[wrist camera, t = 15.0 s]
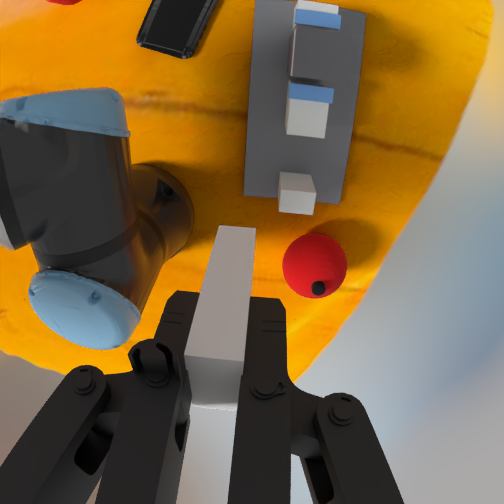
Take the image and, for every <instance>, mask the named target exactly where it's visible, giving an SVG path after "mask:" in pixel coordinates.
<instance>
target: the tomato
mask: <svg viewBox="0 0 504 504" xmlns="http://www.w3.org/2000/svg"><path fill="white" fill-rule="evenodd" d="M47 1H48V2H52V3H57V4H62V5H74V4H76V3H78V2H80V1H82V0H47Z"/></svg>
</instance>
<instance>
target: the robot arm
mask: <svg viewBox="0 0 504 504" xmlns="http://www.w3.org/2000/svg"><path fill="white" fill-rule="evenodd" d="M129 137H130V131H129V130H128V128H127V122H126V115H125V107H124V101H123V98H122V96H121V95H120V94H119V93H118V92H117V91H116V90H114V89H112V88H108V87H99V88H85V89H74V90H65V91H56V92H48V93H41V94H35V95H29V96H23V97H17V98H12V99H7V100H3V101H1V103H0V246H2V247H4V248H6V249H8V250H10V251H14V250H16V249H19V248H21V247H23V246H25V245H28V244H31V246H32V249H33V252H34V255H35V258H36V261H37V263H38V266H39V272H37V273H36V274H35V275H34V276H33V277H32V279H31V284H30V287H29V290H28V296H29V300H30V303H31V306H32V307H33V309H34V311H35V312H36V314H37V315H38V317H39V318H40V319H41V320H42V321H43V322H44V323H45V324H46V325H47V326H48V327H49V328H50V329H52V330H53V331H54V332H56V333H57V334H59V335H60V336H62V337H64V338H65V339H67V340H69V341H71V342H73V343H76V344H78V345H81V346H84V347H87V348H92V349H99V350H108V349H114V348H117V347H119V346H121V345H122V344H124V343H126V342H127V341H128V340H129V338H130V337H131V335H132V333H133V331H134V330H135V328H136V326H137V325H138V324H139V322H140V320H141V314H142V312H143V309H144V307H145V304H146V302H147V300H148V297H149V295H150V293H151V290H152V288H153V286H154V283H155V281H156V279H157V277H158V274H159V272H160V270H161V267H162V265H163V264H164V263H165V262H166V261H167V260H168V259H170V258H172V257H173V256H175V255H176V254H177V253H178V252H180V251H181V249H182V248H183V247H184V246H185V244H186V242H187V240H188V238H189V236H190V234H191V231H192V228H193V224H194V210H193V205H192V202H191V199H190V197H189V195H188V193H187V191H186V190H185V188H184V187H183V186H182V184H181V183H180V182H179V181H178V180H177V179H176V178H175V177H173V176H172V175H171V174H169V173H168V172H166V171H164V170H162V169H160V168H157V167H154V166H150V165H142V164H138V165H131V155H130V144H129ZM255 237H256V228H249V227H236V226H223V225H219V228H218V231H217V235H216V238H215V242H214V245H213V249H212V252H211V256H210V259H209V263H208V266H207V270H206V273H205V277H204V281H203V284H202V288H201V292H200V293H198V292H188V291H178V290H177V291H176V292H175V293H174V294H173V295H172V296H171V297H170V298H169V299H168V300H167V303H166V305H165V308H164V311H163V313H162V316H161V319H160V323H159V325H158V327H157V330H156V333H155V336H154V339H146V340H143V341H140V342H138V343H137V344H136V345H134V346H133V347H132V348H131V349H130V351H129V353H128V357H129V360H130V362H131V365H132V368H133V370H132V371H130V372H125V373H118V374H107V375H104V374H103V372H102V371H101V370H100V369H98V368H97V367H94V366H91V365H82V366H79V367H76V368H74V369H73V370H71V371H70V372H69V373H68V374H67V375H66V377H65V378H64V379H63V380H62V382H61V383H60V384H59V386H58V387H57V388H56V390H55V391H54V392H53V394H52V395H51V396H50V398H49V399H48V401H46V403H45V404H44V406H43V407H42V408H41V410H40V411H39V412H38V414H37V415H36V416H35V418H34V419H33V421H32V422H31V423H30V425H29V426H28V427H27V429H26V430H25V432H24V433H23V435H22V436H21V438H20V439H19V440H18V442H17V443H16V445H15V446H14V447H13V449H12V450H11V452H10V453H9V455H8V456H7V458H6V459H5V461H4V462H3V464H2V465H1V467H0V504H86V502H87V500H88V499H89V497H90V495H91V494H92V492H93V490H94V488H95V487H96V485H97V483H98V482H99V480H100V478H101V476H102V478H101V482H100V486H99V489H98V493H97V497H96V501H95V504H176V500H177V494H178V487H179V482H180V476H181V470H182V464H183V459H184V453H185V447H186V441H187V435H188V430H189V424H190V415H189V410H190V405H191V400H192V405H193V406H196V407H204V408H212V409H221V410H231V411H237V417H236V425H235V435H234V446H233V454H232V464H231V465H232V466H231V474H230V484H229V493H228V503H227V504H290V489H291V483H290V482H291V454H294V455H297V456H299V457H300V460H301V463H302V467H303V470H304V474H305V477H306V480H307V484H308V487H309V491H310V494H311V497H312V501H313V504H404V502H403V499H402V497H401V494H400V492H399V489H398V487H397V484H396V482H395V479H394V477H393V474H392V472H391V470H390V467H389V465H388V462H387V460H386V457H385V455H384V452H383V450H382V448H381V445H380V443H379V441H378V438H377V436H376V434H375V431H374V429H373V426H372V424H371V422H370V420H369V417H368V415H367V413H366V411H365V408H364V406H363V405H362V403H361V402H360V401H359V400H358V399H357V398H355V397H354V396H352V395H349V394H346V393H333V394H330V395H328V396H325V397H324V398H322V397H319V396H315V395H312V394H309V393H306V392H304V391H302V390H300V389H299V388H297V387H296V386H295V385H294V384H293V383H292V381H291V380H290V378H289V376H288V371H287V338H286V309H285V308H284V306H283V304H282V302H281V301H280V299H277V298H264V297H251V287H252V275H253V263H254V250H255Z"/></svg>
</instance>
